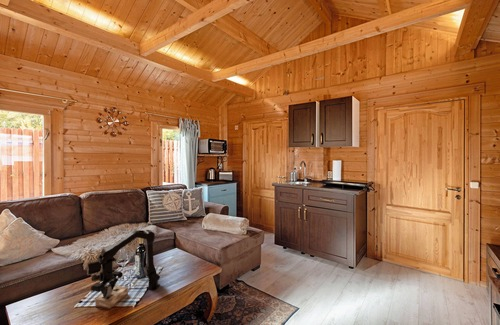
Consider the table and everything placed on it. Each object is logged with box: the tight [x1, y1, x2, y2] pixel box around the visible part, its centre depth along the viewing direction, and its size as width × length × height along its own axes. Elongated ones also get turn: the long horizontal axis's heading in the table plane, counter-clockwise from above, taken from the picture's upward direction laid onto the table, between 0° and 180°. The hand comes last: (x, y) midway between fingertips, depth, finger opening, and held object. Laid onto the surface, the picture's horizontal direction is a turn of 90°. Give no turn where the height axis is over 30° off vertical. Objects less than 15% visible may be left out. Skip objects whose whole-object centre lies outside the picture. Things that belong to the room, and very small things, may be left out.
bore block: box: [94, 285, 129, 310], centre depth 151 cm, size 15×10×4 cm, turn 168°
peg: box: [104, 283, 112, 299], centre depth 147 cm, size 4×4×10 cm
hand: (107, 294), depth 147 cm, fingers open, 4 cm apart
